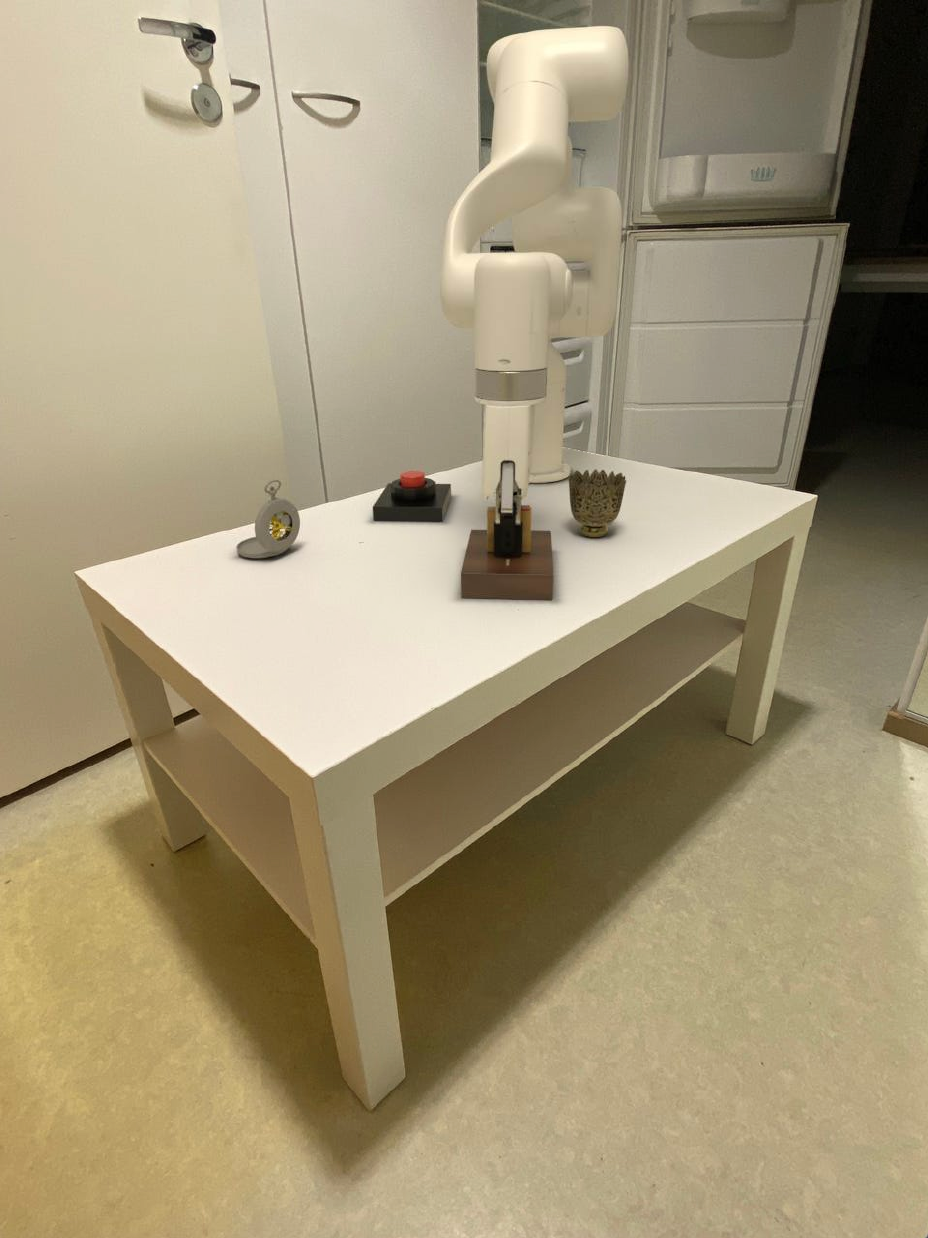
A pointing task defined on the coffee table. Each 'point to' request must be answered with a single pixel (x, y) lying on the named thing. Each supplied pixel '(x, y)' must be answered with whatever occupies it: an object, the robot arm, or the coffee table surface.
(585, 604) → the coffee table surface
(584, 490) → the cup
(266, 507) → the pocket watch
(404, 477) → the bell button
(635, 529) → the coffee table surface
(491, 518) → the lock turn
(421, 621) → the coffee table surface
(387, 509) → the black button mount
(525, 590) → the plate
